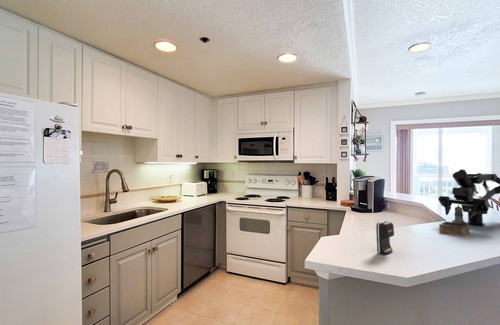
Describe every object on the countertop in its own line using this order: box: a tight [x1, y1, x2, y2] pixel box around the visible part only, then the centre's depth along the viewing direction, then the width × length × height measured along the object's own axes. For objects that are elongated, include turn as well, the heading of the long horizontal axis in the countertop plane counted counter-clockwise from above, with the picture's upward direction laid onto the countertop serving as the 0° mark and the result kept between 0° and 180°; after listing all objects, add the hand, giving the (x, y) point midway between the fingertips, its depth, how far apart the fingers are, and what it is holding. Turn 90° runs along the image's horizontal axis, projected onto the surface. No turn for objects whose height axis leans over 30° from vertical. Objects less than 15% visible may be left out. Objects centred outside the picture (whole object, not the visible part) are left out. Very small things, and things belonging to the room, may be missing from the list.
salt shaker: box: [450, 204, 468, 224], centre depth 120 cm, size 6×6×12 cm
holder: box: [439, 221, 470, 237], centre depth 115 cm, size 9×9×4 cm
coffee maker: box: [375, 220, 395, 255], centre depth 91 cm, size 7×4×11 cm, turn 126°
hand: (457, 216), depth 120 cm, fingers open, 9 cm apart
